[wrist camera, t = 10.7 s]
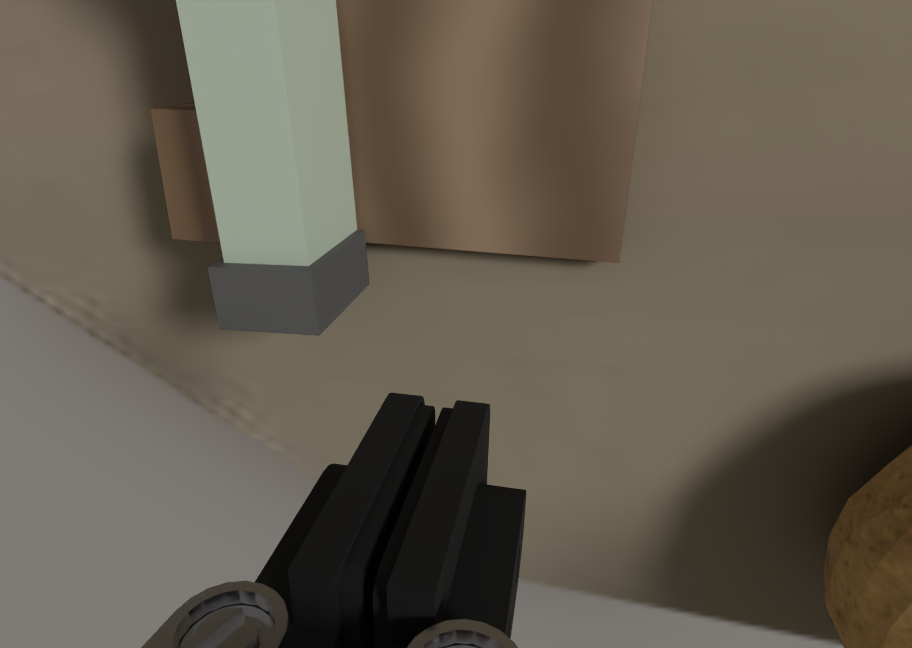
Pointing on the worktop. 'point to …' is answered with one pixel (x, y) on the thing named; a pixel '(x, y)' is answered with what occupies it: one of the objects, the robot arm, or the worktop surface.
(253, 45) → the leg
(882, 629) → the potato
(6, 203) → the worktop surface
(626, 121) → the stool seat
